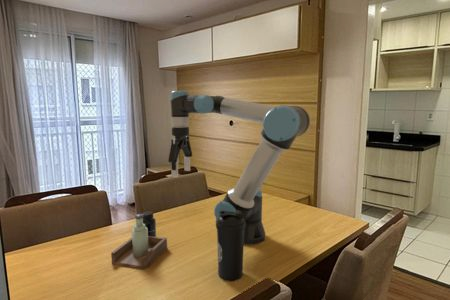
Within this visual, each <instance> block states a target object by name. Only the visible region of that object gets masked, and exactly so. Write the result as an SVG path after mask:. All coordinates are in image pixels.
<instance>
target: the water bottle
mask: <svg viewBox="0 0 450 300" xmlns="http://www.w3.org/2000/svg"><path fill="white" fill-rule="evenodd" d="M219 215H220V216H219V217H218V219H217V220H216V219H215V228H216V234H217V235H216V237H217V238H216V240H217V241H216V245H217V265H218V266H217V267H218V269H217V270H218V271H217V272H218V277H219V279H221V280H223V281H227V282H235V280H236V281H238V280H240V279H241V278H242V277H243V269H244V267H243V265H244V264H243V263H244V245H245V244H244V229H245V220H244V218H243V217H242V213H241V211H239V210H237V211H236V212H230V211H224V210H222V211H219Z"/></svg>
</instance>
